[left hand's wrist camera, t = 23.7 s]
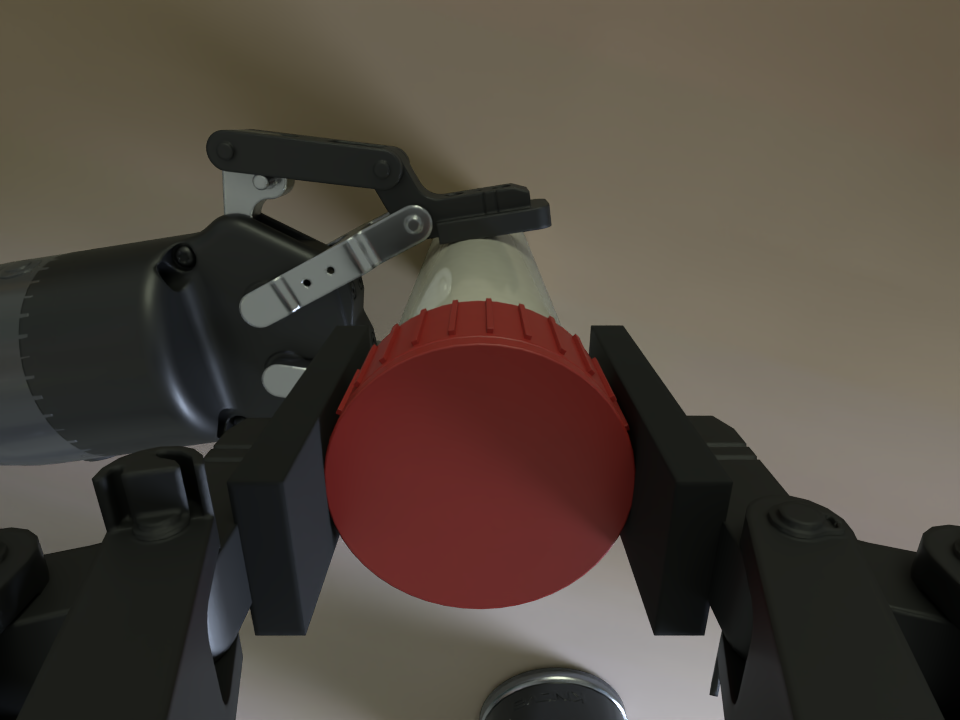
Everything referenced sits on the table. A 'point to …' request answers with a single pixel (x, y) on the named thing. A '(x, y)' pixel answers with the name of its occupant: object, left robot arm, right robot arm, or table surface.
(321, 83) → the table surface
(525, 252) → the bottle
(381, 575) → the lid
